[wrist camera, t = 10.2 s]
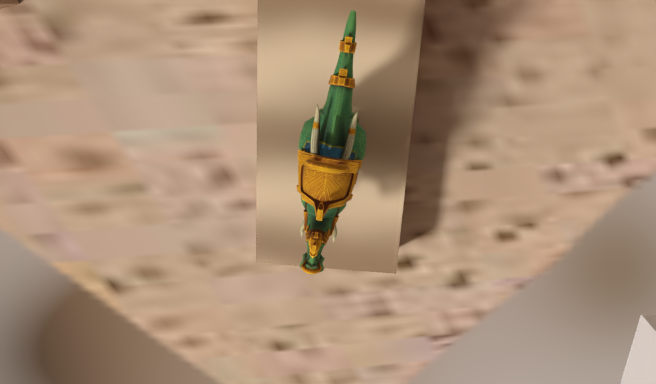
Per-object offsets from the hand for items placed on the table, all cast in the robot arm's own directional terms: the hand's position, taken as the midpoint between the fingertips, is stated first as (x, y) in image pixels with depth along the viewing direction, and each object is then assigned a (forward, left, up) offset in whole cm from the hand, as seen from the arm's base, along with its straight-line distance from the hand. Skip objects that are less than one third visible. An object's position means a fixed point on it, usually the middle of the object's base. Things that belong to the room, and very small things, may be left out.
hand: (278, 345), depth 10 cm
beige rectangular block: (0, 0, -21) cm, 21 cm away
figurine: (0, 0, -19) cm, 19 cm away
